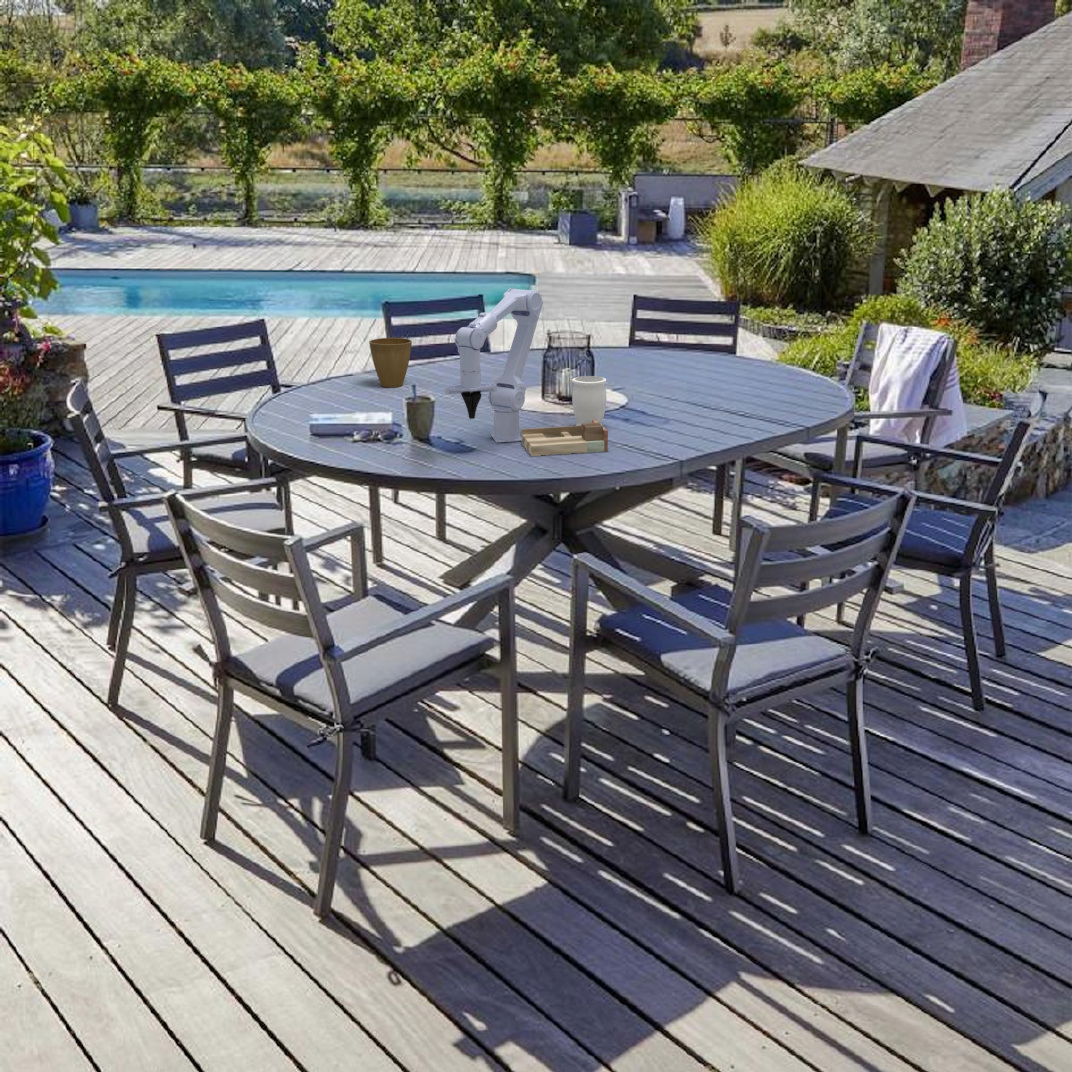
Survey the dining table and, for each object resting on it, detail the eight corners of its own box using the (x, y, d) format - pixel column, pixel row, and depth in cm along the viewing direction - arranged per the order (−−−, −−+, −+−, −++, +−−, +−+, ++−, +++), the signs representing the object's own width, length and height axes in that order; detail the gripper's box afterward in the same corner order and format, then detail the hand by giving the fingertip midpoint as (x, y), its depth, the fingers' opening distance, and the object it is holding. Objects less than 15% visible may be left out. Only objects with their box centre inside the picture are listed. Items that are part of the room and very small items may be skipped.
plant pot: (399, 391, 436) (397, 345, 431) (363, 388, 442) (360, 342, 437) (421, 383, 449) (419, 338, 444) (385, 380, 455) (383, 336, 450)
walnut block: (581, 437, 360) (581, 423, 359) (598, 435, 361) (598, 422, 360) (585, 441, 355) (585, 427, 354) (603, 440, 356) (603, 426, 355)
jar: (609, 430, 379) (609, 381, 374) (575, 432, 378) (575, 383, 373) (602, 422, 389) (602, 374, 384) (569, 424, 388) (569, 376, 383)
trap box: (521, 444, 365) (521, 424, 363) (595, 439, 369) (595, 419, 367) (531, 456, 352) (531, 435, 350) (607, 451, 356) (607, 430, 354)
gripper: (446, 374, 347) (448, 422, 351) (498, 371, 349) (499, 419, 354) (443, 369, 353) (444, 417, 358) (493, 367, 356) (494, 414, 360)
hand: (471, 417), depth 356 cm, fingers closed
